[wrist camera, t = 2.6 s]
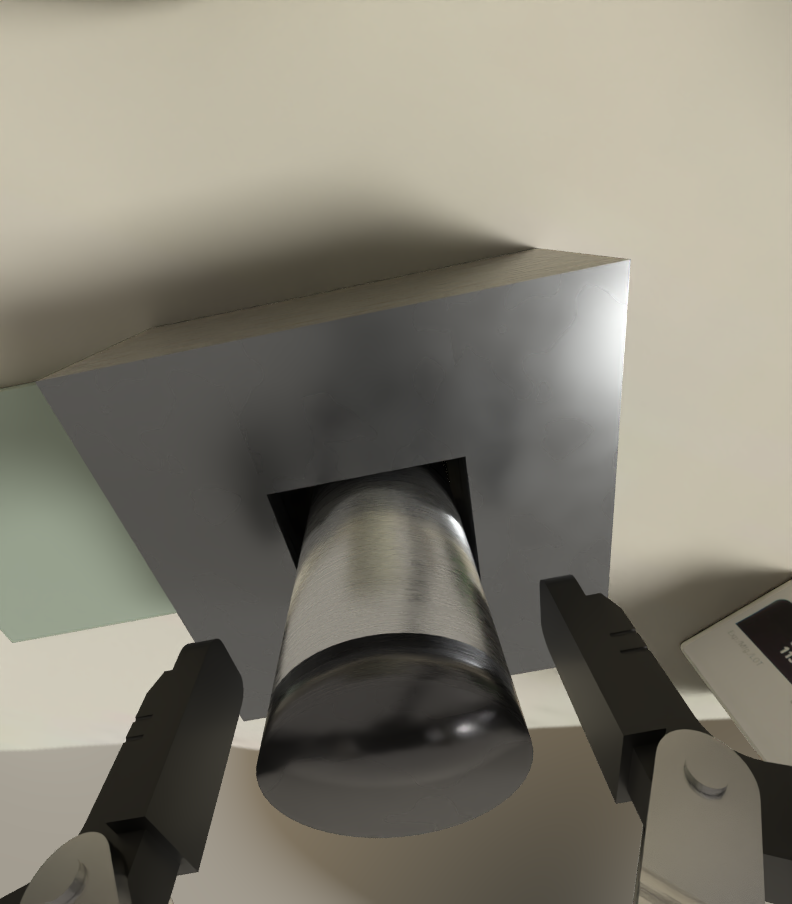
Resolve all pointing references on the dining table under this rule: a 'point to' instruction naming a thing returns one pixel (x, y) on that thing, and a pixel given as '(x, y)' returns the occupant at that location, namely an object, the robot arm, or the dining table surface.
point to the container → (752, 670)
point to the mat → (61, 533)
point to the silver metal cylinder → (390, 669)
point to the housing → (365, 436)
